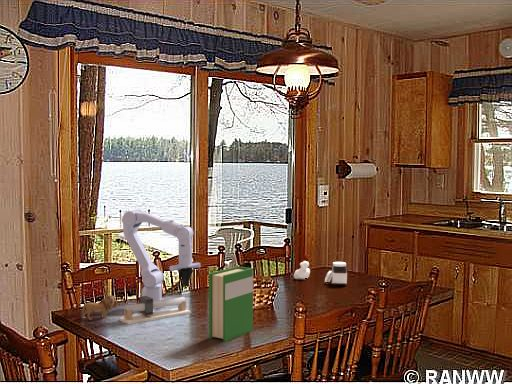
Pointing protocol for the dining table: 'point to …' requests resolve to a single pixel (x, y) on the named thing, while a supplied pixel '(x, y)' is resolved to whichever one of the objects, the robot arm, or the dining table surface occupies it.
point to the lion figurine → (98, 307)
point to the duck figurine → (302, 271)
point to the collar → (147, 305)
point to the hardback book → (230, 302)
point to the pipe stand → (156, 315)
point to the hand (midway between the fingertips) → (185, 285)
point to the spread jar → (337, 274)
